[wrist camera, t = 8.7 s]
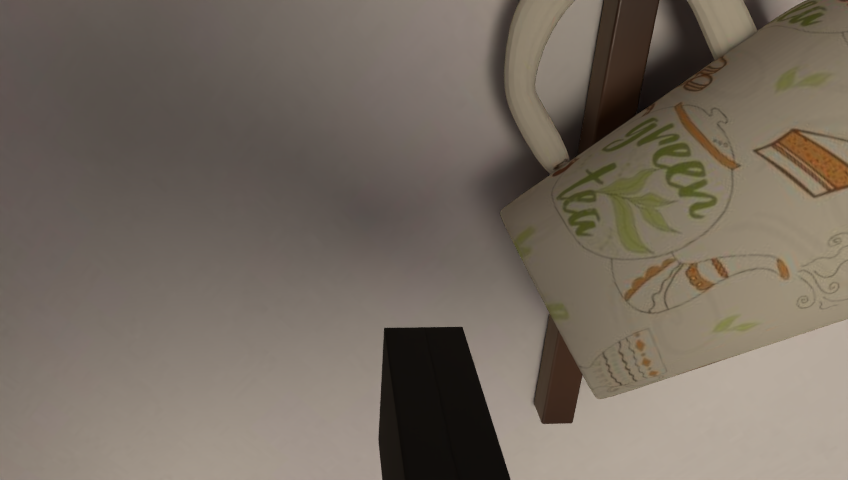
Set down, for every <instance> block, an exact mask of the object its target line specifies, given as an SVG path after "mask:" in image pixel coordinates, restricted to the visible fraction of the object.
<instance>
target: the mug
mask: <svg viewBox="0 0 848 480" xmlns="http://www.w3.org/2000/svg"><path fill="white" fill-rule="evenodd" d="M574 1H575V0H520V1H519V4H518V6H517V8H516V10H515V13H514V16H513V19H512V22H511V25H510V29H509V35H508V40H507V45H506V54H505V64H504V87H505V94H506V98H507V102H508V105H509V108H510V111H511V113H512V116H513V118H514V120H515V122H516V124H517V126H518V128H519V130H520V132H521V134H522V136H523V137H524V139H525V141H526V143H527V144H528V146H529V148H530V149H531V151H532V152H533V154H534V156H535V157H536V158H537V160H538V161H539V162H540V164H541V165H542V166H543V168H544V169H545V170H546V171H548V172H549V173H550V174H551V175H549V176H548V177H546V178H545V179H544V180H542V181H541V182H539V183H538V184H536V185H535V186H533V187H532V188H531V189H529V190H528V191H526V192H525V193H523V194H522V195H521V196H519V197H518V198H516V199H515V200H514V201H512V202H511V203H510V204H508V205H507V206H506V207H504V208H503V209H502V210H501V212H500V216H501V218H502V221H503V223H504V225H505V227H506V229H507V231H508V233H509V235H510V237H511V239H512V241H513V243H514V245H515V247H516V249H517V251H518V253H519V255H520V257H521V259H522V261H523V263H524V265H525V267H526V269H527V271H528V273H529V275H530V277H531V278H532V280H533V282H534V284H535V286H536V288H537V290H538V292H539V294H540V296H541V298H542V299H543V301H544V303H545V305H546V307H547V309H548V311H549V313H550V315H551V317H552V319H553V321H554V322H555V324H556V326H557V328H558V330H559V332H560V334H561V336H562V337H563V339H564V341H565V343H566V345H567V347H568V349H569V351H570V353H571V354H572V356H573V358H574V360H575V362H576V364H577V365H578V367H579V369H580V371H581V373H582V375H583V376H584V378H585V380H586V382H587V384H588V385H589V387H590V389H591V391H592V392H593V394H594V395H595V397H596V398H597V399H603V398H607V397H611V396H614V395H618V394H621V393H624V392H627V391H631V390H634V389H637V388H640V387H643V386H646V385H649V384H652V383H655V382H658V381H661V380H664V379H667V378H670V377H673V376H676V375H679V374H682V373H685V372H688V371H691V370H694V369H697V368H700V367H703V366H706V365H709V364H712V363H715V362H718V361H721V360H724V359H727V358H730V357H734V356H737V355H740V354H743V353H746V352H749V351H752V350H755V349H758V348H761V347H764V346H767V345H770V344H773V343H776V342H779V341H782V340H785V339H788V338H791V337H794V336H797V335H800V334H803V333H806V332H809V331H812V330H815V329H818V328H821V327H824V326H827V325H830V324H833V323H837V322H840V321H843V320H846V319H848V0H807V1H804V2H802V3H800V4H798V5H797V6H795V7H793V8H791V9H790V10H788V11H786V12H785V13H783V14H782V15H780V16H779V17H777V18H776V19H774V20H773V21H771V22H770V23H768V24H767V25H765V26H764V27H762V28H761V29H759V30H758V31H757V29H756V26H755V24H754V22H753V20H752V18H751V16H750V14H749V11H748V9H747V7H746V5H745V3H744V1H743V0H687V1H688V3H689V5H690V7H691V8H692V10H693V12H694V14H695V16H696V19H697V21H698V23H699V26H700V28H701V30H702V33H703V35H704V37H705V40H706V42H707V44H708V47H709V49H710V51H711V53H712V55H713V58H714V61H713V62H711V63H710V64H709V65H707V66H706V67H704V68H703V69H702V70H700V71H699V72H697V73H696V74H695V75H693V76H692V77H690V78H689V79H687V80H686V81H685V82H683V83H682V84H680V85H679V86H677V87H676V88H675V89H673V90H672V91H670V92H669V93H667V94H666V95H665V96H663V97H662V98H660V99H659V100H657V101H656V102H654V103H653V104H652V105H650V106H649V107H647V108H646V109H644V110H643V111H641V112H640V113H639V114H637V115H636V116H634V117H633V118H631V119H630V120H629V121H627V122H626V123H624V124H623V125H621V126H620V127H618V128H617V129H616V130H614V131H613V132H611V133H610V134H608V135H607V136H605V137H604V138H603V139H601V140H600V141H598V142H597V143H595V144H594V145H592V146H591V147H590V148H588V149H587V150H585V151H584V152H582V153H581V154H580V155H578V156H577V157H575V158H574V159H572V160H571V161H570V159H569V156H568V152H567V149H566V147H565V145H564V143H563V141H562V139H561V136H560V134H559V132H558V131H557V129H556V127H555V125H554V124H553V122H552V120H551V118H550V117H549V115H548V113H547V111H546V110H545V108H544V106H543V104H542V103H541V101H540V99H539V97H538V96H537V93H536V91H535V80H536V74H537V70H538V65H539V62H540V59H541V56H542V53H543V50H544V48H545V45H546V43H547V41H548V39H549V37H550V35H551V33H552V31H553V29H554V27H555V26H556V24H557V22H558V21H559V19H560V18H561V17H562V15H563V14H564V12H565V11H566V10H567V9H568V7H569V6H570V5H571V4H572V3H573V2H574Z"/></svg>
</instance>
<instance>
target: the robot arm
mask: <svg viewBox="0 0 848 480" xmlns="http://www.w3.org/2000/svg"><path fill="white" fill-rule="evenodd" d="M379 450H380V460H381V470H382V480H510V477H509V473H508V470H507V467H506V464H505V461H504V457H503V454H502V451H501V448H500V445H499V442H498V438H497V435H496V432H495V429H494V426H493V423H492V419H491V416H490V413H489V410H488V407H487V404H486V400H485V397H484V394H483V391H482V388H481V384H480V381H479V378H478V375H477V372H476V369H475V365H474V362H473V359H472V356H471V353H470V350H469V346H468V343H467V340H466V337H465V334H464V331H463V327H419V328H384V343H383V363H382V382H381V402H380V421H379Z"/></svg>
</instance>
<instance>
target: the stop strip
mask: <svg viewBox="0 0 848 480" xmlns="http://www.w3.org/2000/svg"><path fill="white" fill-rule="evenodd" d="M658 4H659V0H604V5H603V10H602V16H601V22H600V28H599V33H598V39H597V45H596V51H595V56H594V62H593V68H592V74H591V79H590V85H589V91H588V96H587V102H586V108H585V114H584V119H583V125H582V131H581V137H580V142H579V148H578V154H577V156H578V155H580V154H581V153H582V152H584V151H585V150H587V149H588V148H590V147H591V146H592V145H594V144H595V143H597V142H598V141H600V140H601V139H603V138H604V137H605V136H607V135H608V134H610V133H611V132H613V131H614V130H616V129H617V128H618V127H620V126H621V125H623V124H624V123H626V122H627V121H629V120H630V119H631V118H633V117H634V116H636V111H637V107H638V102H639V97H640V92H641V87H642V82H643V77H644V72H645V68H646V63H647V58H648V53H649V48H650V43H651V38H652V34H653V29H654V24H655V19H656V14H657V9H658ZM581 379H582V373H581V371H580V369H579V367H578V365H577V364H576V362H575V360H574V358H573V356H572V354H571V353H570V351H569V349H568V347H567V345H566V343H565V341H564V339H563V337H562V336H561V334H560V332H559V330H558V328H557V326H556V324H555V322H554V321H553V319H552V317H551V315H549V320H548V326H547V332H546V338H545V343H544V349H543V355H542V361H541V366H540V372H539V378H538V384H537V389H536V395H535V401H534V405H535V407H536V410H537V412H538V415H539V417H540V420H541V422H542V423H543V424H558V423H572V422H573V418H574V413H575V408H576V403H577V398H578V394H579V389H580V384H581Z"/></svg>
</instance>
